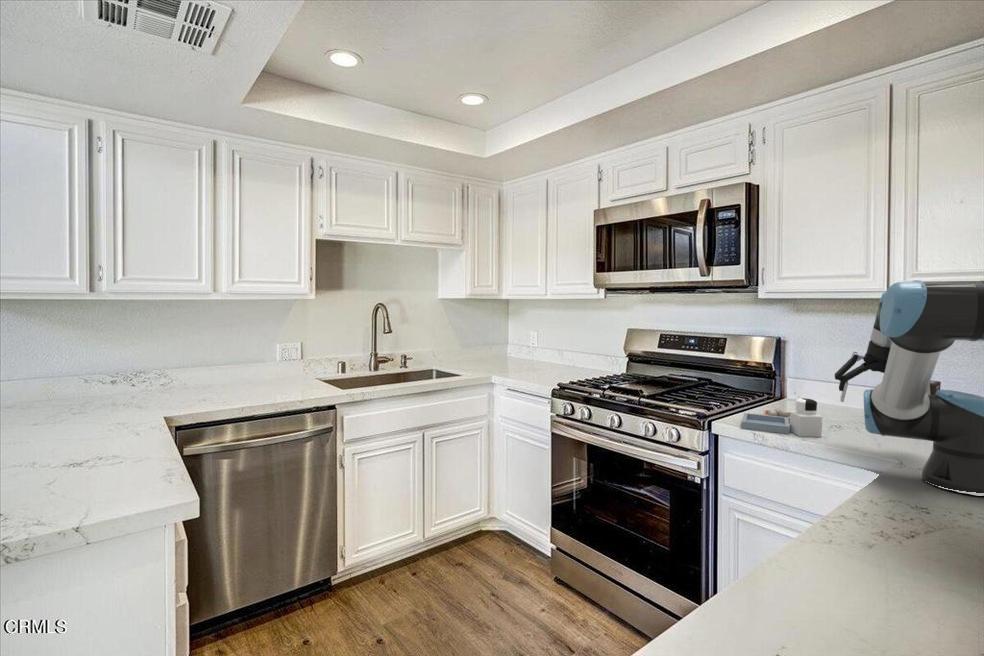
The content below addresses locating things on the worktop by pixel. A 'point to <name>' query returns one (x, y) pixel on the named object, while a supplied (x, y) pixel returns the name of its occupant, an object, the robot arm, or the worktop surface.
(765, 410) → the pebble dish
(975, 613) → the worktop surface
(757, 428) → the grey bin
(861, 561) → the worktop surface
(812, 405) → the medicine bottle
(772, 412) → the pebble
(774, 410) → the pebble
